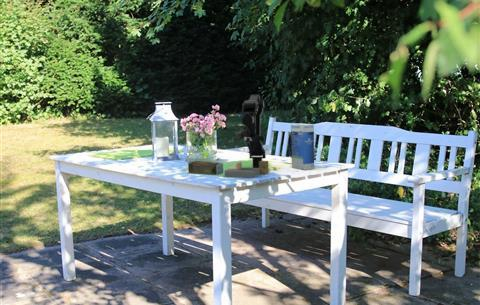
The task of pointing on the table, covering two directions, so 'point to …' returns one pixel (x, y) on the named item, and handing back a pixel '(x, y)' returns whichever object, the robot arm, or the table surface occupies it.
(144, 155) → the table surface
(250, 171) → the socket block
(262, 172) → the plug
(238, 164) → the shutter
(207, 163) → the beverage carton
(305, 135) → the string lights box
